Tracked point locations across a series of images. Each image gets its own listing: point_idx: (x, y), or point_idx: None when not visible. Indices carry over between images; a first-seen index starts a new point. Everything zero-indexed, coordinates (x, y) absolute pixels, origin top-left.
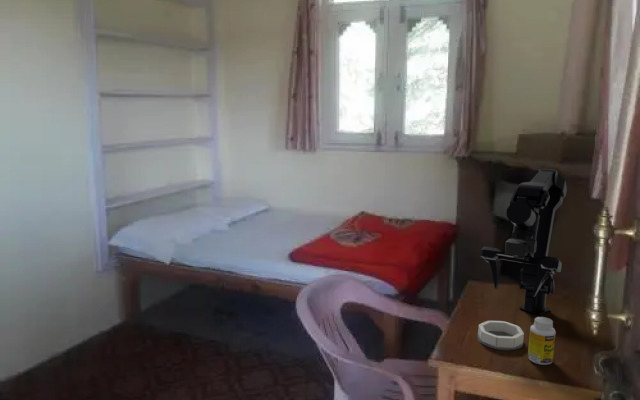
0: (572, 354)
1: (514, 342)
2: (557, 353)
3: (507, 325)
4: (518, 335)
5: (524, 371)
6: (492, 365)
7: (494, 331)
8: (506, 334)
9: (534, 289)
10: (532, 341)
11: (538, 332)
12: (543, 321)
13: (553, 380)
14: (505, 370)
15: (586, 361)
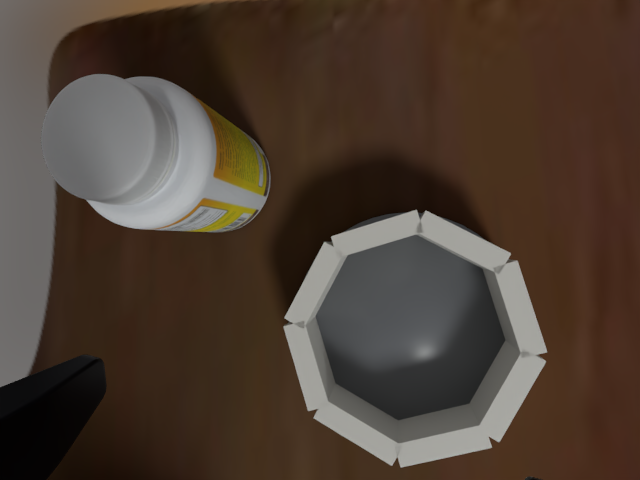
0: (101, 296)
1: (330, 243)
2: (157, 282)
3: (376, 427)
4: (309, 285)
5: (282, 46)
6: (418, 37)
7: (443, 405)
8: (379, 387)
9: (27, 393)
10: (221, 118)
11: (162, 80)
12: (97, 107)
13: (175, 24)
14: (359, 17)
15: (56, 250)
